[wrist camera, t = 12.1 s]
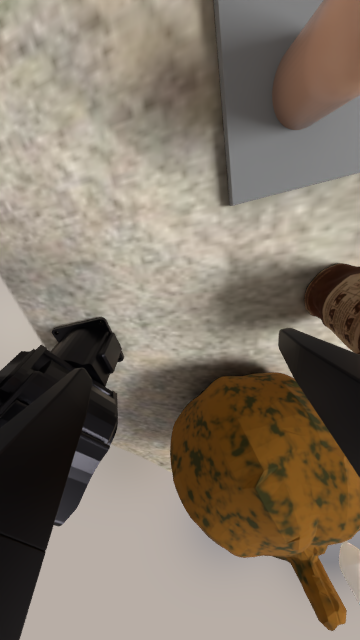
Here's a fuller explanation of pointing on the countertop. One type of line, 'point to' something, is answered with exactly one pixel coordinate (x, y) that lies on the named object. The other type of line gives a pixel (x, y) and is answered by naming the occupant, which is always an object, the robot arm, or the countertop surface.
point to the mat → (257, 106)
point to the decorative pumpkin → (267, 478)
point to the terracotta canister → (320, 66)
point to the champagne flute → (351, 567)
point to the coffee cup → (337, 302)
